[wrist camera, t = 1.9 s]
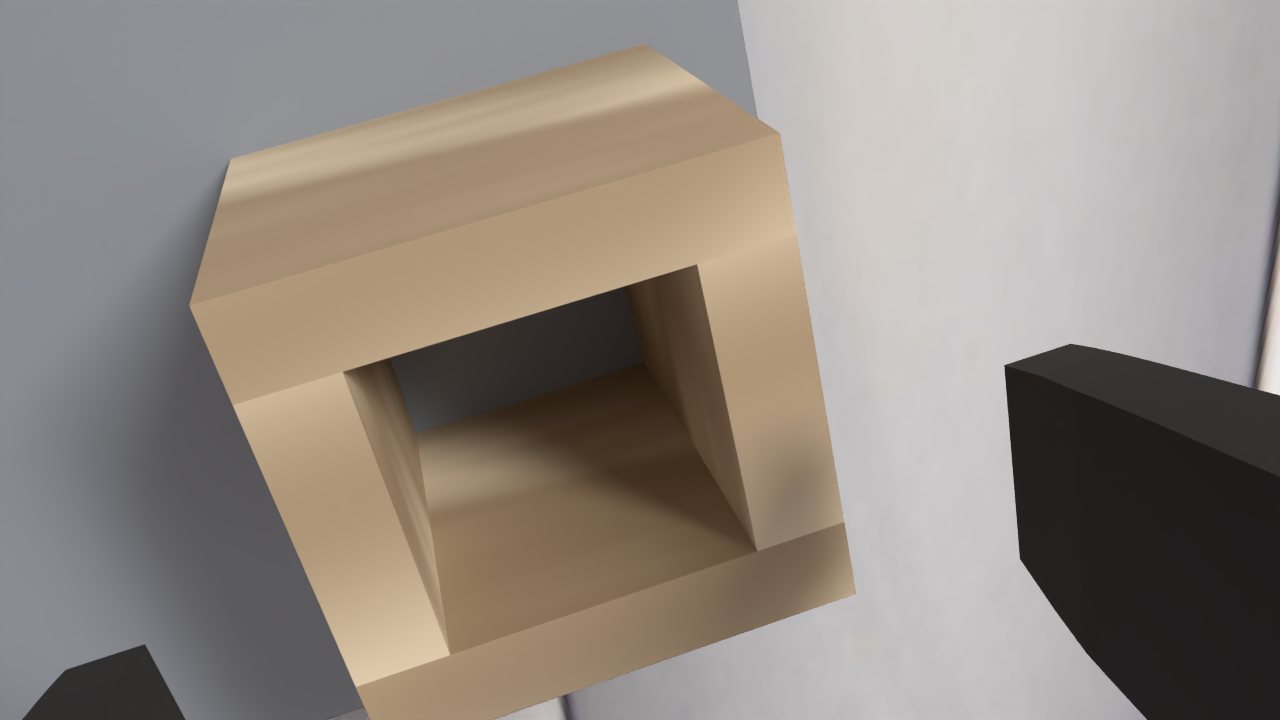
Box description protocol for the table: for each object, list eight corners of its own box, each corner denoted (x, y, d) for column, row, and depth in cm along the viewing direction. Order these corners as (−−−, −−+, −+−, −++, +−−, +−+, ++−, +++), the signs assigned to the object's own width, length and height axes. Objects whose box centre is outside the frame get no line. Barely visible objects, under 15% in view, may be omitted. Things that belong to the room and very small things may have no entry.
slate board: (814, 521, 20) (832, 547, 19) (-24, 804, 18) (-38, 843, 17) (501, -1217, 11) (513, -1291, 10) (-1234, -984, 9) (-1365, -1050, 8)
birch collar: (720, 400, 17) (856, 593, 13) (369, 512, 17) (386, 757, 12) (645, 43, 15) (779, 133, 11) (230, 158, 14) (189, 306, 10)
